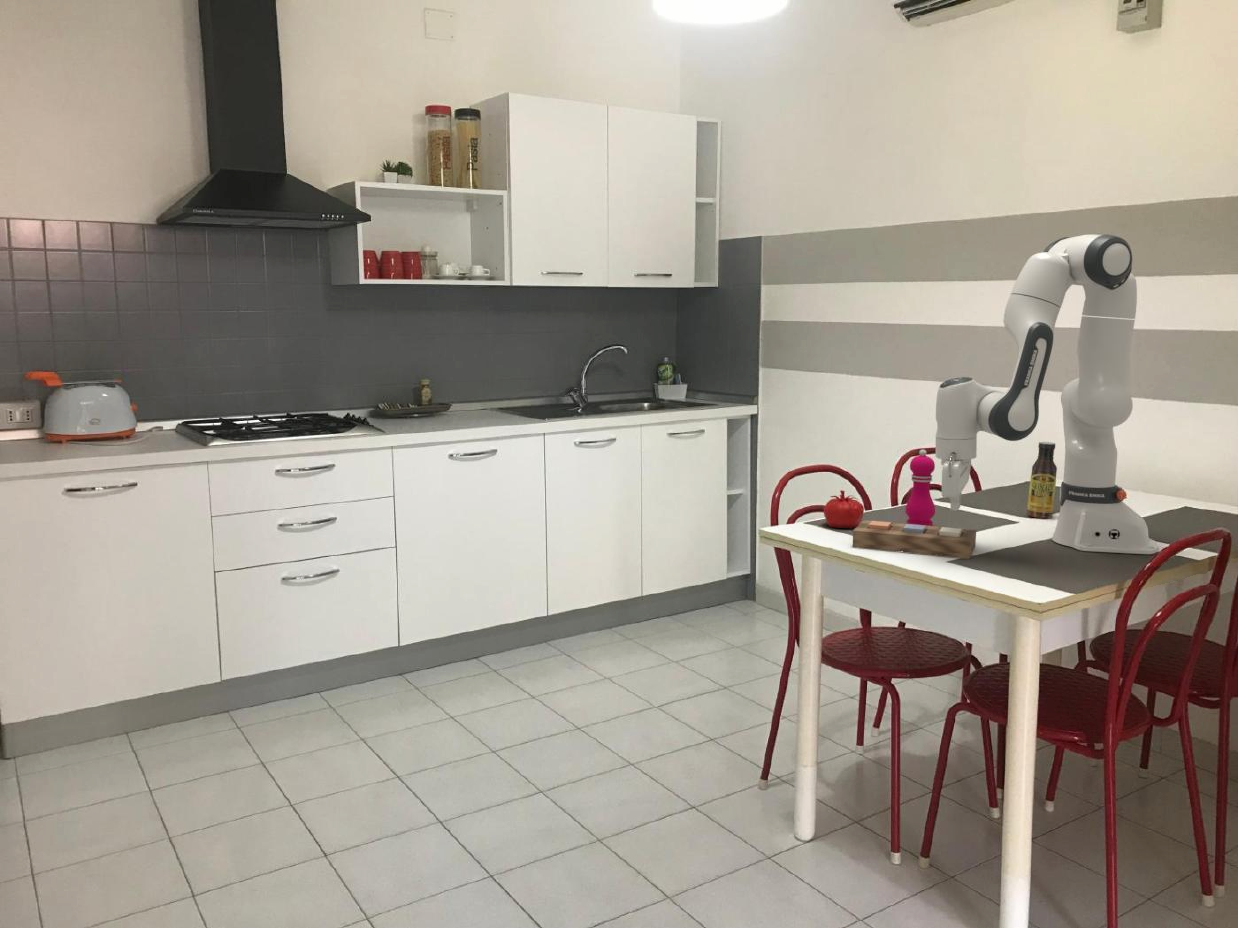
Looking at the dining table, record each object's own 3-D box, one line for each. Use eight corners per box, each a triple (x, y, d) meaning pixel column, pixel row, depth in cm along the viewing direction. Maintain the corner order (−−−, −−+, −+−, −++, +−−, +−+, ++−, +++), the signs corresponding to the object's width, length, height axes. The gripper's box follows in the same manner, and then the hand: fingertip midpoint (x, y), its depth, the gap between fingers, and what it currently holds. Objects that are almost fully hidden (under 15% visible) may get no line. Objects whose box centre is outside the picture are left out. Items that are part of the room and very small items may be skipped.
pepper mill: (935, 531, 249) (939, 452, 246) (905, 530, 251) (909, 451, 248) (932, 524, 256) (936, 447, 253) (903, 523, 258) (907, 447, 255)
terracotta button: (890, 536, 238) (891, 522, 238) (887, 540, 234) (887, 526, 234) (871, 534, 240) (872, 520, 240) (868, 538, 236) (868, 524, 236)
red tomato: (860, 532, 250) (862, 496, 248) (820, 528, 253) (821, 493, 251) (865, 523, 259) (867, 488, 257) (826, 519, 262) (827, 485, 261)
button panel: (975, 546, 234) (976, 530, 233) (969, 558, 223) (970, 541, 223) (863, 535, 245) (863, 520, 244) (852, 547, 234) (853, 530, 234)
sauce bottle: (1026, 518, 264) (1031, 443, 260) (1026, 513, 270) (1031, 440, 266) (1053, 520, 261) (1059, 444, 258) (1053, 515, 267) (1058, 441, 264)
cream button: (961, 543, 232) (961, 528, 231) (958, 547, 228) (959, 532, 227) (941, 541, 233) (942, 527, 233) (938, 545, 229) (939, 531, 229)
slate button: (925, 540, 235) (926, 525, 234) (922, 544, 231) (923, 529, 230) (906, 538, 237) (906, 523, 236) (902, 542, 233) (903, 527, 232)
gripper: (965, 457, 216) (964, 519, 219) (975, 443, 235) (974, 501, 237) (934, 456, 219) (934, 518, 221) (947, 442, 237) (947, 500, 240)
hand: (955, 509), depth 229 cm, fingers closed
